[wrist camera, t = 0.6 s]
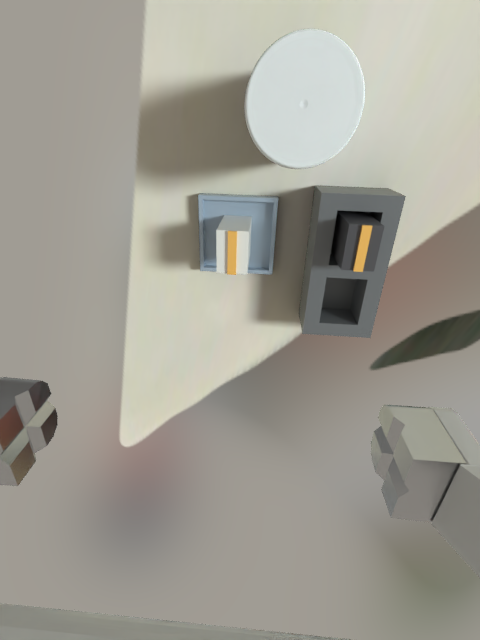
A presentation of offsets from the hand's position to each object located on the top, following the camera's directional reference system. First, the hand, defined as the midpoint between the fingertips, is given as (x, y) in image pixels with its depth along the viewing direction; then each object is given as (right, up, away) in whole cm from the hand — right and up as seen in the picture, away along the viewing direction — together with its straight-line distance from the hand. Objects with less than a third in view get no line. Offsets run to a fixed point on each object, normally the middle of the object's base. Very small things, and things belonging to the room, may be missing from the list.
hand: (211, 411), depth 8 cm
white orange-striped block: (0, +14, +37) cm, 40 cm away
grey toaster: (+14, +11, +38) cm, 42 cm away
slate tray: (0, +14, +38) cm, 40 cm away
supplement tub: (+7, +26, +31) cm, 41 cm away
